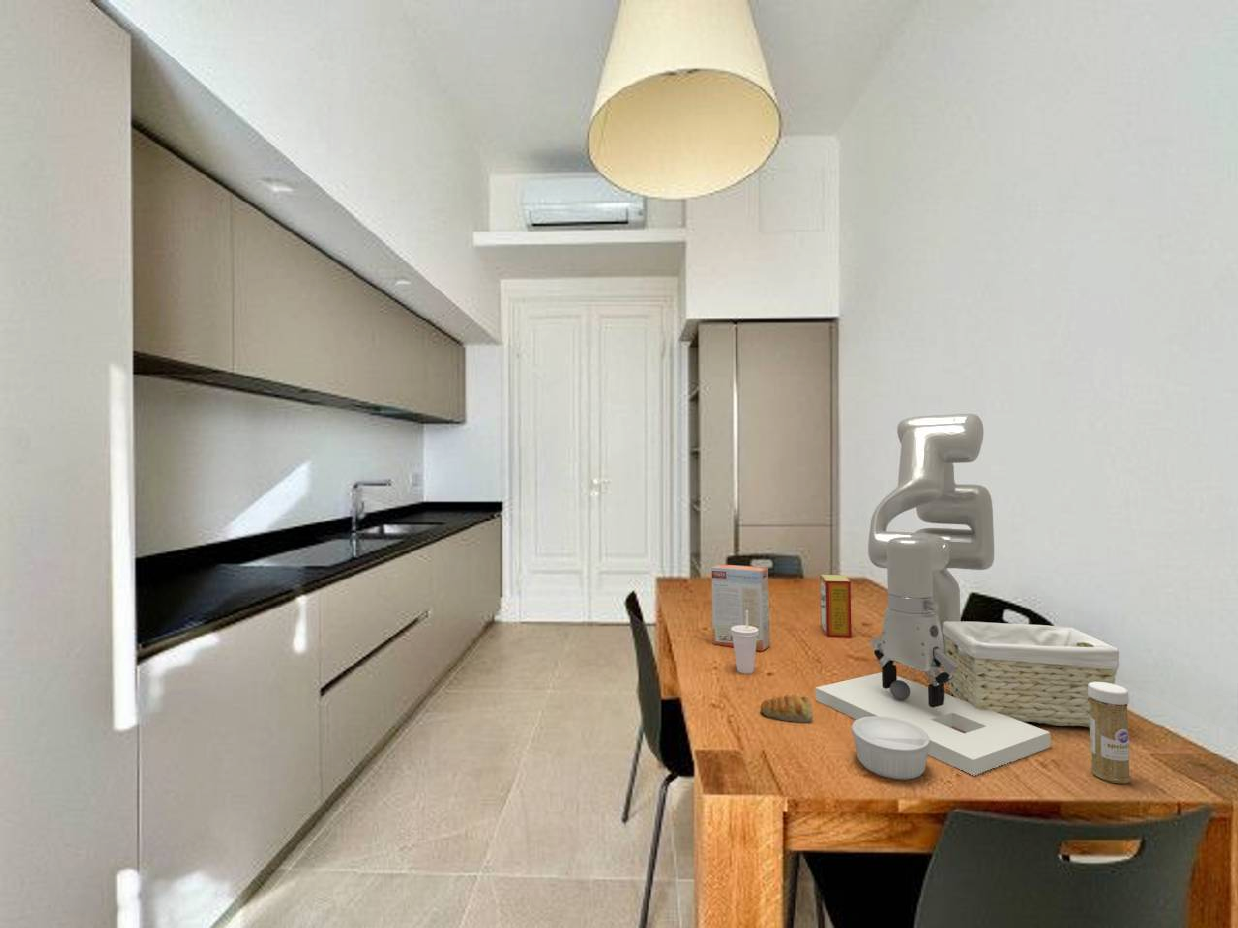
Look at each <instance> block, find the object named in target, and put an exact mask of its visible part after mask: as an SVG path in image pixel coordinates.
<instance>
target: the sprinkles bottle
mask: <svg viewBox="0 0 1238 928" xmlns="http://www.w3.org/2000/svg"><path fill="white" fill-rule="evenodd" d="M1088 695H1089V696H1090V697H1089V699H1090V727H1089V734H1090V735H1089V736H1090V737H1089V739H1090V741H1089V742H1090V744H1089V745H1090V752H1091V753H1090V754H1091V767H1090V772H1091V773H1092V774H1093V775H1094V776H1096V777H1097V778H1099V779H1101V780H1103V781H1106V782H1109V783H1114V784H1128V783H1130V781H1131V776H1130V763H1129V762H1130V739H1129V722H1128V717H1129V716H1128V704H1129V702H1130V701H1129V699H1130V698H1129V691H1128V689H1127V688H1125V687H1123V686H1121V685H1118V684H1115V683H1114V684H1111V683H1106V682H1091V683H1089V684H1088Z"/></svg>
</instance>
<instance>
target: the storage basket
mask: <svg viewBox="0 0 1238 928" xmlns="http://www.w3.org/2000/svg"><path fill="white" fill-rule="evenodd" d="M943 634H944V635H945V636H944V640H945V643H946V653H947V656H948V657H949V658H950V659H951V660H953V661H954V662H955V663H956V664H957V665H958V668H957V670H956V672H955V673H954V674H953V678H952V679H950V680H949V681H948V684H949V685H948V688H949V691H950V693H951V695H953V697H956V698H959V699H961V700H964V701H967V702H969V703H972V704H973V705H974V706H975V708H977V709H985V710H991V711H994V712H997V713H999V714H1002V715H1005V716H1008V717H1010V718H1013V719H1016V720H1018V721H1021V722H1024V723H1030V722H1031V723H1037V724H1046V725H1049V726H1059V727H1063V726H1065V727H1066V726H1071V727H1075V726H1078V727H1079V726H1080V727H1085V728H1090V699H1089V697H1090V696H1089V695H1088V684H1089V683H1091V682H1106V683H1111V684H1115V683H1116V675H1117V672H1118V669H1119V668H1120V651H1119V649H1118V648H1117V647H1115V646H1114V645H1113V646H1112V645H1110V644H1108V643H1106V642H1104V641H1102V640H1100V639H1098V638H1096V637H1094V636H1091V635H1089V634H1086V633H1085V632H1081V631H1080V630H1078V629H1076V628H1073V627H1064V626H1063V627H1062V626H1054V625H1045V624H1044V625H1043V624H1031V623H1030V624H1029V623H1028V624H1027V623H1007V622H1006V623H1002V622H1001V623H1000V622H985V621H967V620H966V621H960V622H956V621H953V622H949V621H946V622H944V623H943Z"/></svg>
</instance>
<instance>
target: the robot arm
mask: <svg viewBox="0 0 1238 928" xmlns="http://www.w3.org/2000/svg"><path fill="white" fill-rule="evenodd" d="M896 427H897V429H896V430H897V438H898V441H899V443H900V445H901V446H900V456H899V457H900V458H899V467H898V468H899V469H898V482H897V486H896V487H895V488H894V489H893V490H892V491H891V492H889V493H888V494H886V496H885V497H884V498H883V499H882V500H881V501H880V502H879V504H878V505H877V507H876V508H875V510H874V512H873V513H872V517H871V519H870V525H869V533H868V542H867V543H868V544H867V547H868V548H867V551H868V558H869V560H870V562H871V563H872V564H873V566H875V567H877V568H881V569H886V570H887V571H886V573H887V576H886V577H887V607H886V608H885V611H884V616H883V621H882V622H883V624H882V635H881V636H878V637H875V638H872V639H870V644H871V646H872V649H873V650H874V651H873V652H874V653H873V654H874V656H875V657H876V659H877V660H878V665H879V667H881V672H882V684H883V688H885V689H887V688H890V685H891V683H892V682H894V681H896V680H897V676H898V675H897V665H895V663H896V664H897V663H898V664H900V665H902V666H905V667H908V668H912V669H914V670H916V671H917V670H918V671H921V672H924V674H925V675H926V677H927V678H928V680H929V682H930V683H929V684H928V685H927V687H928V704H929V706H930V707H932V708H934V707H937V706H941V705H943V704H944V693H945V684H947V683H949V680H950V679H952V678H953V674H954V673H955V672H956V670H957V668H958V665H957V664H956V663H955V662H954V661H953V660H951V659H950V658H949V657H948V656H947V653H946V643H945V640H944V636H945V635H944V634H943V623H944V622H946V621H949V622H953V621H956V622H961V588H960V585H959V582H958V581H957V580H956V579H955V577H954V576H953V575H952V573H950V571H949V570H948V569H961V570H971V571H974V570H975V571H984V570H985V571H986V570H989V569H990V568H991V567H993V564H994V562H995V561H994V560H995V535H994V534H995V533H994V531H995V530H994V510H993V501H992V496H991V493H990V491H989V489H987V488H986V487H985V486H982V485H980V484H957V483H955V470H954V469H955V467H954V466H955V465H954V464H957V463H962V464H965V463H973V462H975V461H976V460H977V459H978V457H979V454H980V452H981V447H982V444H983V440H984V433H985V432H984V425H983V422H982V420H981V418H980V417H979V416H978V415H977V414H974V413H957V414H939V415H938V414H936V415H933V414H932V415H922V416H913V417H908V418H905V419H903V420H901V421H900V422H899V423H898V425H897V426H896ZM913 509H915V510H916V515H917V517H918V519H919V520H921V521H922V522H924V523H930V524H943V525H944V524H945V525H948V524H949V525H964V526H965V525H966V526H968V527H969V528H970V529H965V528H964V529H963V528H950V527H949V528H946V527H945V528H944V527H942V528H941V527H926V528H920V529H918V530H916V531H914V532H908V531H907V532H905V531H887V529H888V525H889V524H890V523H891V522H892V520H894V519H895V518H896V517H897V516H899V515H900V514H903V513H905V512H907V511H910V510H913ZM943 668H944V669H943ZM942 669H943V670H942Z"/></svg>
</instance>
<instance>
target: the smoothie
mask: <svg viewBox="0 0 1238 928" xmlns="http://www.w3.org/2000/svg"><path fill="white" fill-rule="evenodd" d="M731 634H732V636H733V643H734V647H733V649H734V656H735V657H734V658H735V662H736V663H735V664H736V672H738V673H740V674H752V673H754V671H755V670H754V669H755V660H756V659H755V658H756V643H757V635H758V634H759V632H758V629H757V628H756V627H753V626H748V610H746V625H739V626H733V627H732V628H731Z"/></svg>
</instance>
